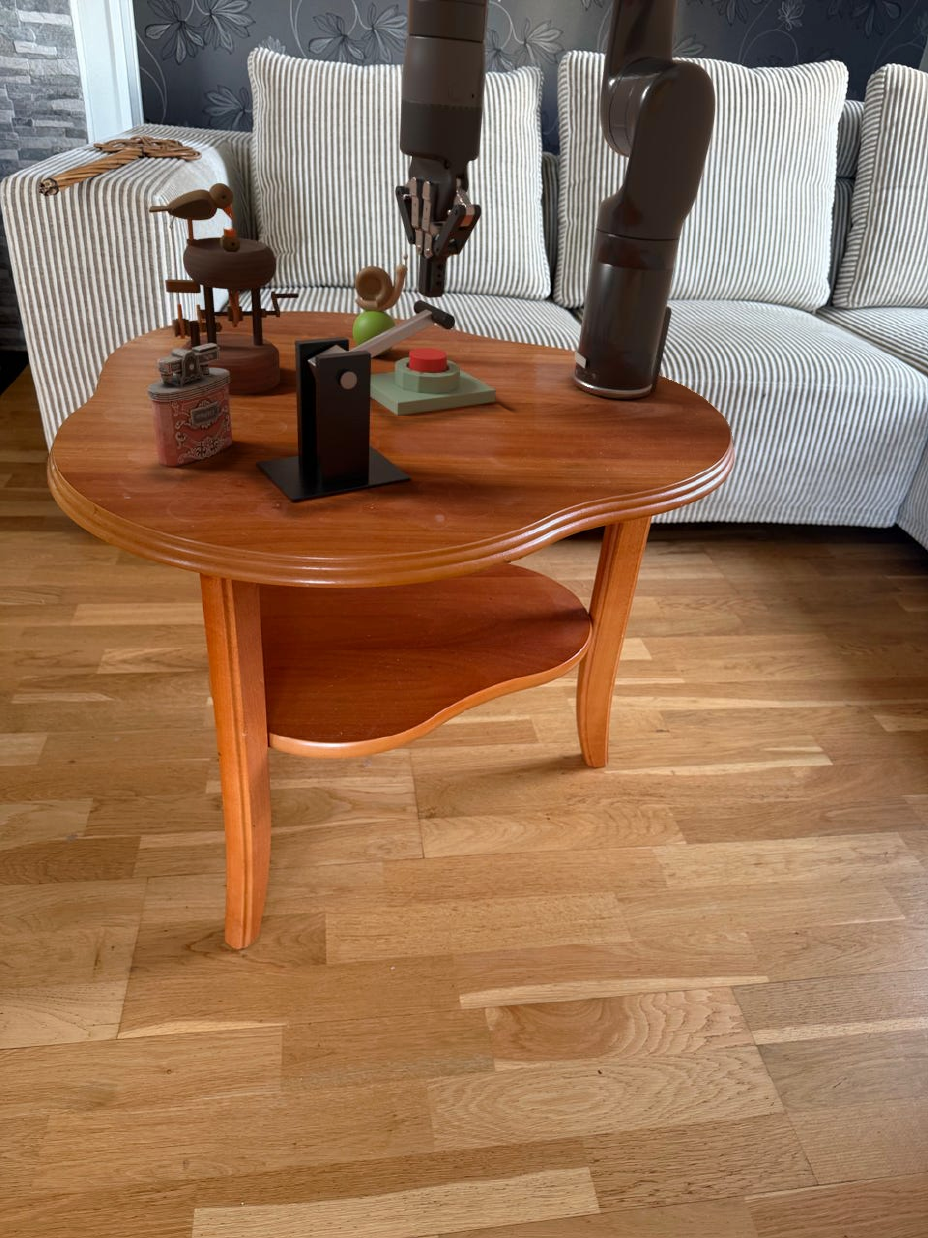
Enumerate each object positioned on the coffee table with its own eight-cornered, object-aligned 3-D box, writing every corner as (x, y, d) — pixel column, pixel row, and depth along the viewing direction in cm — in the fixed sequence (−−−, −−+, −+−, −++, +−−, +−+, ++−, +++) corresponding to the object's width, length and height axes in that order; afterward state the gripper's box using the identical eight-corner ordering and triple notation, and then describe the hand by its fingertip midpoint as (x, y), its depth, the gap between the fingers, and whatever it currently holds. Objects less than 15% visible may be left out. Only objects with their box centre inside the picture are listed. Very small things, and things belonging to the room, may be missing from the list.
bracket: (369, 456, 81) (371, 328, 75) (410, 490, 76) (417, 355, 69) (256, 474, 76) (248, 338, 70) (292, 512, 71) (287, 368, 64)
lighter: (176, 481, 74) (163, 364, 68) (148, 470, 75) (133, 354, 70) (244, 454, 80) (236, 343, 74) (217, 444, 81) (208, 335, 75)
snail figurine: (402, 363, 106) (406, 259, 99) (349, 359, 106) (350, 254, 99) (405, 350, 110) (409, 249, 104) (355, 346, 110) (356, 245, 104)
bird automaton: (185, 402, 89) (157, 184, 79) (158, 378, 97) (130, 178, 88) (323, 387, 96) (314, 185, 87) (287, 365, 104) (275, 179, 95)
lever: (428, 316, 76) (421, 290, 74) (458, 332, 72) (451, 305, 71) (310, 380, 73) (300, 354, 71) (336, 399, 69) (325, 373, 68)
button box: (451, 383, 101) (453, 349, 99) (494, 409, 95) (497, 373, 93) (357, 395, 95) (358, 358, 93) (397, 423, 89) (398, 385, 87)
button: (434, 362, 95) (435, 346, 94) (453, 373, 93) (454, 357, 92) (402, 365, 93) (402, 349, 92) (420, 377, 91) (421, 360, 90)
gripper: (517, 107, 77) (496, 310, 86) (440, 94, 86) (429, 279, 95) (444, 102, 73) (431, 314, 82) (372, 89, 82) (368, 282, 91)
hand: (430, 295), depth 89 cm, fingers closed
